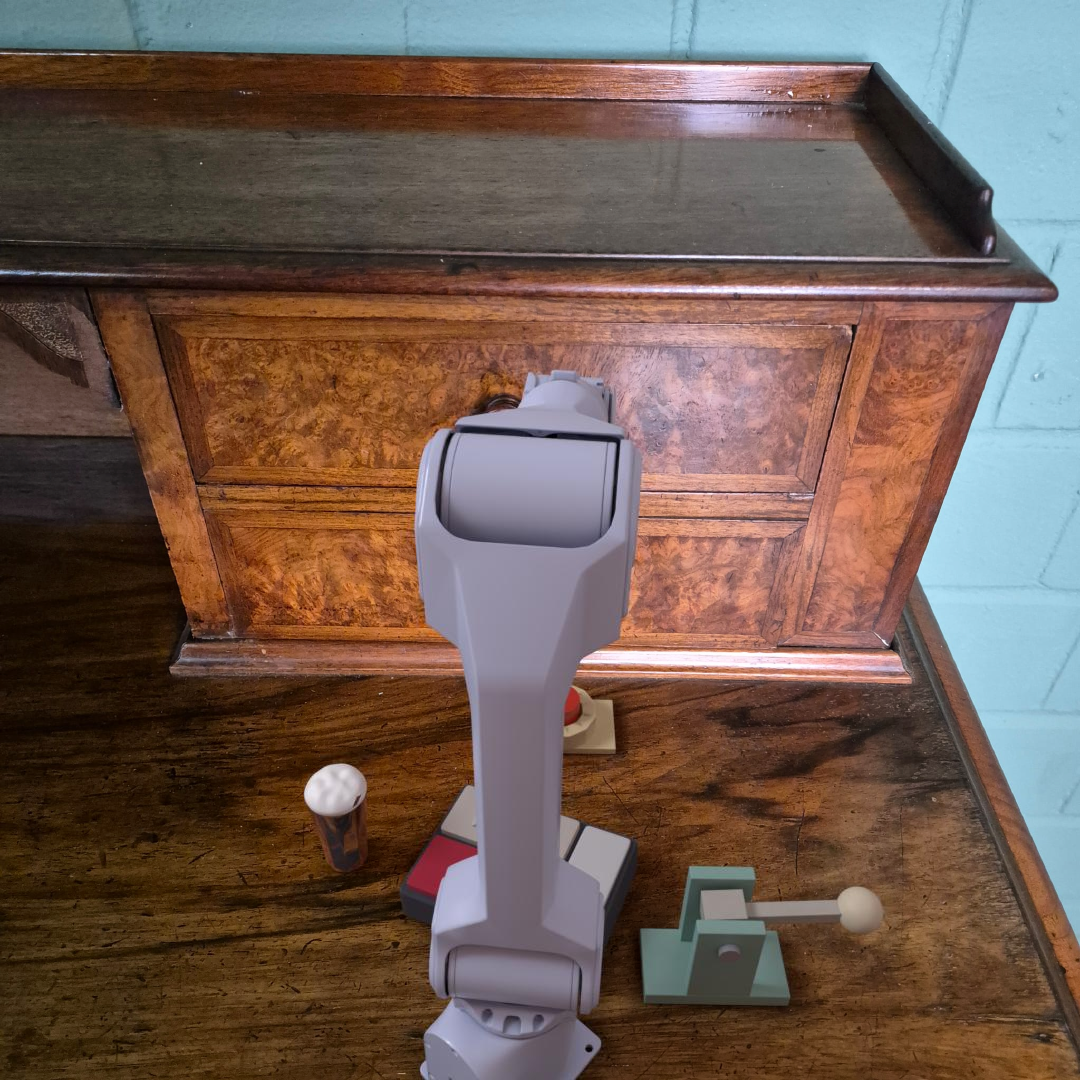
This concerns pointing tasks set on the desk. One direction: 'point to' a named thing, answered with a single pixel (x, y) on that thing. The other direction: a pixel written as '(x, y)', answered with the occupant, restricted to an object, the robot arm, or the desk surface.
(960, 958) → the desk surface
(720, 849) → the desk surface
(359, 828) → the milkshake
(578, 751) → the button box
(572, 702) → the stop button
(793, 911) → the lever
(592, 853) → the calculator
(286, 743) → the desk surface
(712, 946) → the bracket
